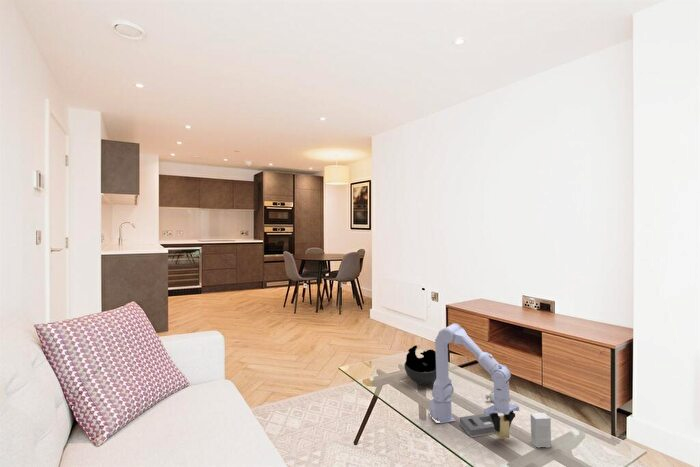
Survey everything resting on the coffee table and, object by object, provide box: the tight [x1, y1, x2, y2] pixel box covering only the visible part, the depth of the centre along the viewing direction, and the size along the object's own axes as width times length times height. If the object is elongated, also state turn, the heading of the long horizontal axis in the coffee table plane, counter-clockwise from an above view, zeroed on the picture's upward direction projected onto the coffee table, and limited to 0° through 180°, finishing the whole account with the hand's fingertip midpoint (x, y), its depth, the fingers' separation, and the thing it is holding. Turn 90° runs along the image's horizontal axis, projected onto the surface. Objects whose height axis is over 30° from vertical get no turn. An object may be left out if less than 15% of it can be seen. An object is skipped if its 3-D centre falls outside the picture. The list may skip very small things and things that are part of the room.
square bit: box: [494, 414, 510, 440], centre depth 150 cm, size 4×4×7 cm
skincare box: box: [530, 412, 552, 448], centre depth 146 cm, size 6×4×12 cm
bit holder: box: [459, 413, 495, 438], centre depth 159 cm, size 16×10×3 cm, turn 100°
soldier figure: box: [485, 389, 511, 403], centre depth 181 cm, size 8×5×12 cm
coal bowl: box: [403, 345, 436, 386], centre depth 203 cm, size 20×20×19 cm
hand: (501, 429), depth 150 cm, fingers closed on square bit, 4 cm apart
